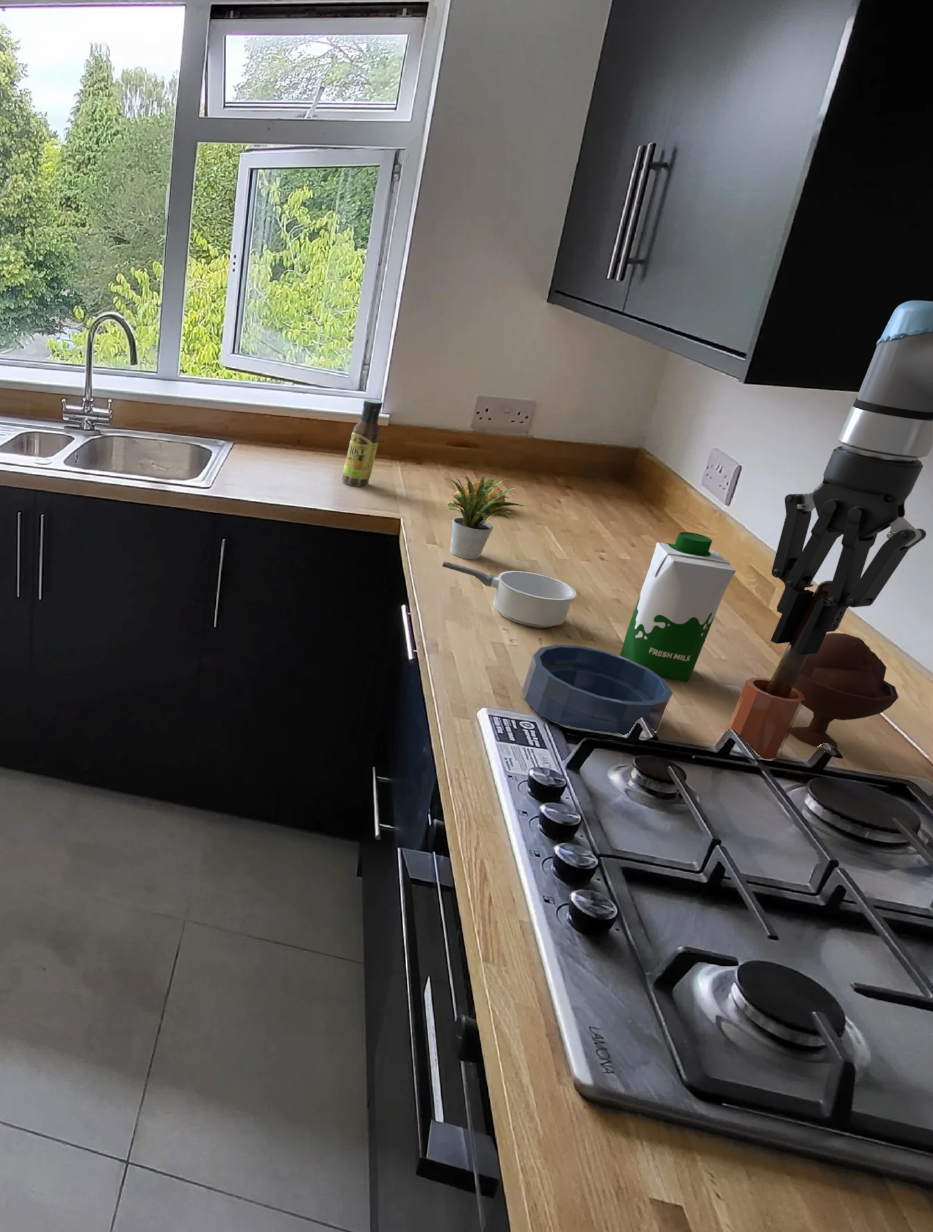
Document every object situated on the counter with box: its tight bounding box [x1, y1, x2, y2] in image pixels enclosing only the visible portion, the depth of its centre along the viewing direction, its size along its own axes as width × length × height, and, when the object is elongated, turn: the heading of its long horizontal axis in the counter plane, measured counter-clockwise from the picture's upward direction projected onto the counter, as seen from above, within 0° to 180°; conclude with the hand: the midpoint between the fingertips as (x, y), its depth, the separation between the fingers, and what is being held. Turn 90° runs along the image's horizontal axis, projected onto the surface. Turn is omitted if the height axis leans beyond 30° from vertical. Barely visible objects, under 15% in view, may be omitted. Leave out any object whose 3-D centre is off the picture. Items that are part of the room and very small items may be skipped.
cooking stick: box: [765, 580, 832, 699], centre depth 106 cm, size 2×2×22 cm
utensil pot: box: [724, 677, 805, 759], centre depth 108 cm, size 6×6×9 cm
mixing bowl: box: [522, 644, 674, 735], centre depth 115 cm, size 16×16×6 cm
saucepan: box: [442, 561, 577, 629], centre depth 145 cm, size 12×20×6 cm, turn 58°
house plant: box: [445, 470, 524, 560], centre depth 166 cm, size 14×14×16 cm
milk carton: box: [620, 531, 737, 684], centre depth 126 cm, size 9×9×20 cm
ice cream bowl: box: [789, 632, 899, 750], centre depth 111 cm, size 11×11×15 cm
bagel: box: [451, 481, 506, 512], centre depth 200 cm, size 10×11×5 cm
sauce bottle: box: [341, 398, 383, 488], centre depth 206 cm, size 6×6×20 cm
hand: (793, 646), depth 104 cm, fingers closed on cooking stick, 2 cm apart
